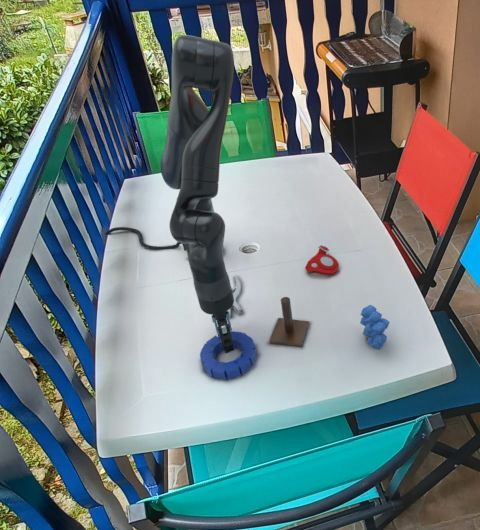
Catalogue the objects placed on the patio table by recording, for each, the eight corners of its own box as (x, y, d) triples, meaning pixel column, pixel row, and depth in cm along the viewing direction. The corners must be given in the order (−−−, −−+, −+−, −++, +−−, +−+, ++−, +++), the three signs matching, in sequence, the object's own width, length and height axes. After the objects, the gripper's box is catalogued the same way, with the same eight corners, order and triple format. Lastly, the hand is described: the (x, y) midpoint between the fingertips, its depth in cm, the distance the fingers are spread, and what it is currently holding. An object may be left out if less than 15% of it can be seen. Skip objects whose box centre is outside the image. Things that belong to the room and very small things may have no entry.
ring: (194, 376, 114) (191, 368, 112) (214, 336, 123) (212, 328, 121) (246, 382, 112) (244, 374, 111) (262, 342, 122) (261, 334, 120)
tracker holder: (346, 268, 143) (316, 273, 137) (341, 278, 146) (312, 284, 140) (327, 239, 149) (298, 243, 143) (323, 250, 152) (294, 254, 146)
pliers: (236, 273, 140) (252, 305, 130) (237, 277, 141) (253, 309, 131) (201, 283, 136) (215, 317, 126) (202, 287, 137) (216, 322, 127)
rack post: (269, 343, 122) (263, 309, 114) (278, 320, 128) (273, 287, 121) (301, 347, 121) (297, 313, 114) (308, 323, 127) (305, 290, 120)
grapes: (398, 355, 119) (401, 320, 112) (373, 364, 117) (373, 328, 110) (379, 323, 128) (380, 288, 120) (355, 330, 125) (354, 295, 118)
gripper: (192, 273, 114) (206, 323, 124) (200, 314, 103) (215, 364, 114) (225, 266, 116) (236, 315, 126) (236, 304, 106) (248, 355, 116)
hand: (226, 338), depth 120 cm, fingers open, 8 cm apart
